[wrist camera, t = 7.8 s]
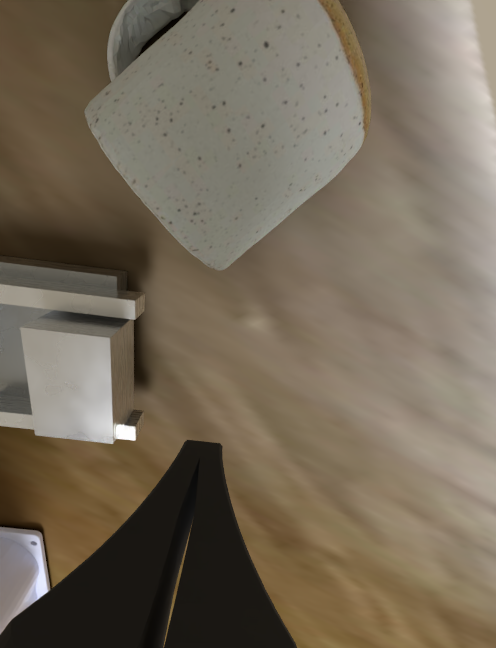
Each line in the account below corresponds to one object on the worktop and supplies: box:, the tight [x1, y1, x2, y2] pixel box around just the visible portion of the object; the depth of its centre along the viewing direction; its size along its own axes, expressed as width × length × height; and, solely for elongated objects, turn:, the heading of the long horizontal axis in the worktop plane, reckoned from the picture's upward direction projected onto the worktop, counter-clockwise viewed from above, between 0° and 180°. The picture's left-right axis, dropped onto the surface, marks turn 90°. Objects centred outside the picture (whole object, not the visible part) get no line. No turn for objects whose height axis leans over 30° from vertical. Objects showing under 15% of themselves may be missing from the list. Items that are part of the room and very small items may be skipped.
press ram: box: [20, 310, 134, 444], centre depth 16 cm, size 6×4×3 cm, turn 173°
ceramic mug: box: [85, 0, 371, 270], centre depth 12 cm, size 11×8×8 cm
